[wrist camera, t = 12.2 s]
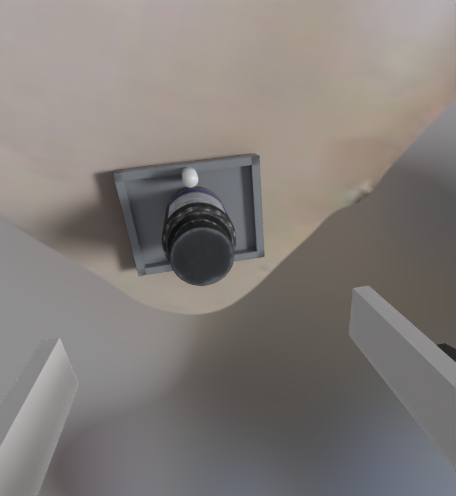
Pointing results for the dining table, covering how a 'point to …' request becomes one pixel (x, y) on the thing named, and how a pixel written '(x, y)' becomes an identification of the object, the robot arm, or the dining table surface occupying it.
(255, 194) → the tray
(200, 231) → the pill bottle
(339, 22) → the dining table surface
